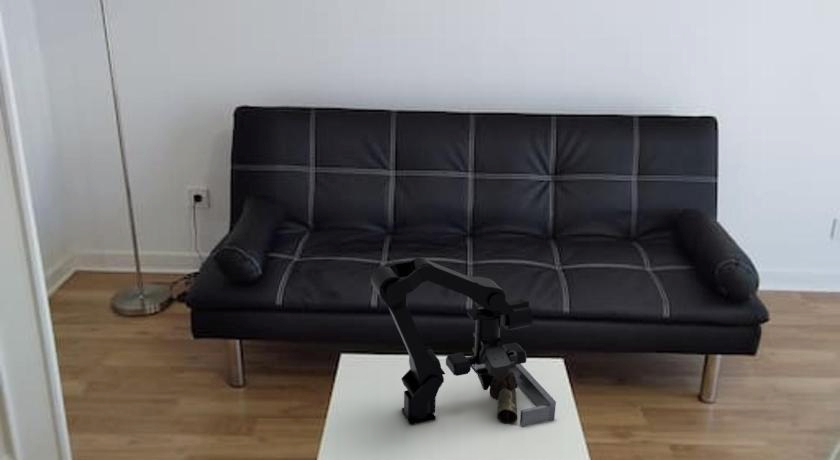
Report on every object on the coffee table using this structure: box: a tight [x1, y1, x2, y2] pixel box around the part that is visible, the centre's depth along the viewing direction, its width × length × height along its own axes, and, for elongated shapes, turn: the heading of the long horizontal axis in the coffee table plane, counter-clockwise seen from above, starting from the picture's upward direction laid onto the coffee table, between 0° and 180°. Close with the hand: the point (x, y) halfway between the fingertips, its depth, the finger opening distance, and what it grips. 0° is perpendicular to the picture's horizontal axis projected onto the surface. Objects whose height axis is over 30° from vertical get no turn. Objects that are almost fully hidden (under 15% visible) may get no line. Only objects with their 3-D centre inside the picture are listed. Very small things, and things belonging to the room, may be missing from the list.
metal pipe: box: [489, 371, 519, 425], centre depth 189 cm, size 18×7×6 cm, turn 174°
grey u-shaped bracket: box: [508, 364, 557, 428], centre depth 191 cm, size 8×24×5 cm, turn 20°
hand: (485, 389), depth 188 cm, fingers closed
